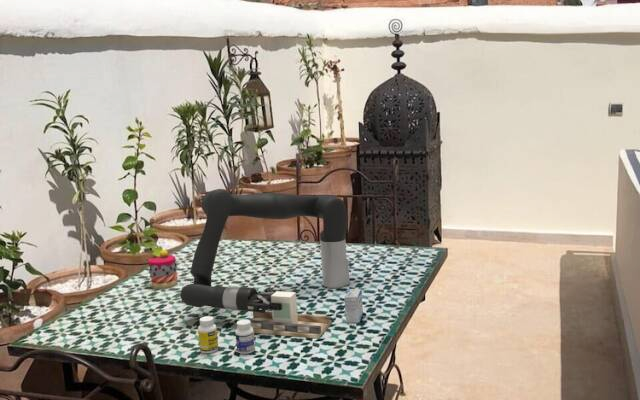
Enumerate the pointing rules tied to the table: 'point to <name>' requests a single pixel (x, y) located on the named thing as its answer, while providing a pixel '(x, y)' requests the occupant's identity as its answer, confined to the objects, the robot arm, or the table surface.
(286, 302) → the carton
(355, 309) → the medicine box
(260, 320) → the shelf ledge
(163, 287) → the cake
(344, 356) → the table surface
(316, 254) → the table surface
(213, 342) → the supplement bottle
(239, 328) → the pill bottle
